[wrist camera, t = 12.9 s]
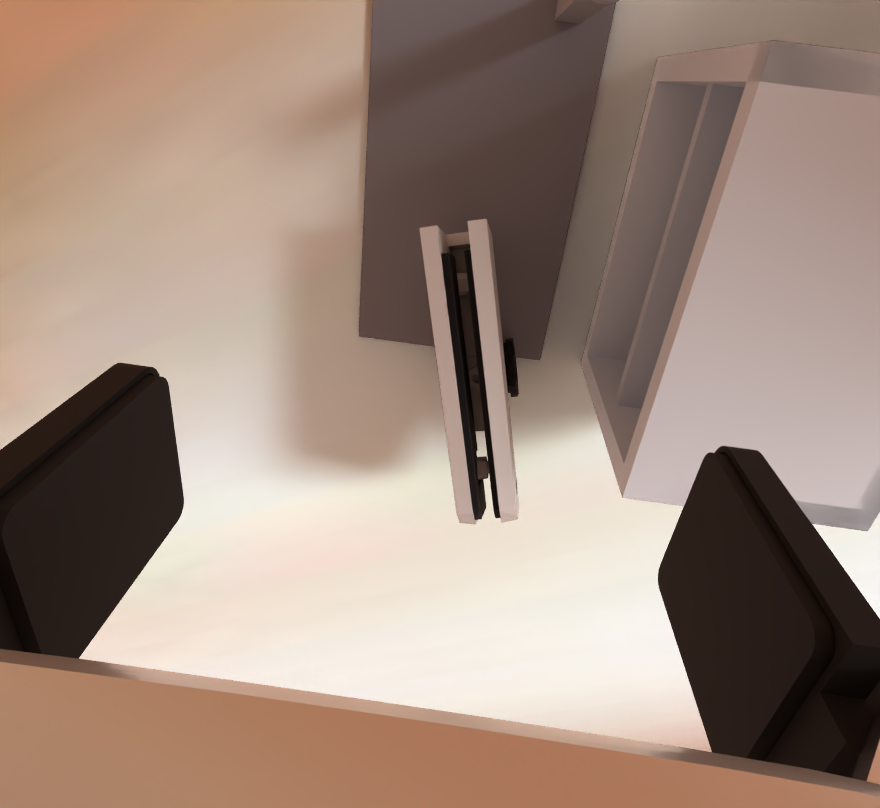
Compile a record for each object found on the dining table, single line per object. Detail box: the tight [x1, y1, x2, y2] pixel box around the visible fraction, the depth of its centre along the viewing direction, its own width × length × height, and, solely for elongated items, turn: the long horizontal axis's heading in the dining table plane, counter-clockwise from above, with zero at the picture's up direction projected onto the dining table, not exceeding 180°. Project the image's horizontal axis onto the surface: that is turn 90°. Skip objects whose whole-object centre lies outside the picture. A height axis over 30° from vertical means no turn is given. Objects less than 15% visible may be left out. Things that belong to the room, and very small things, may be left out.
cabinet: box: [581, 40, 880, 531], centre depth 26 cm, size 16×10×13 cm, turn 174°
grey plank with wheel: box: [419, 219, 519, 524], centre depth 31 cm, size 4×10×15 cm
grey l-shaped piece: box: [359, 0, 619, 360], centre depth 26 cm, size 18×11×11 cm, turn 174°
